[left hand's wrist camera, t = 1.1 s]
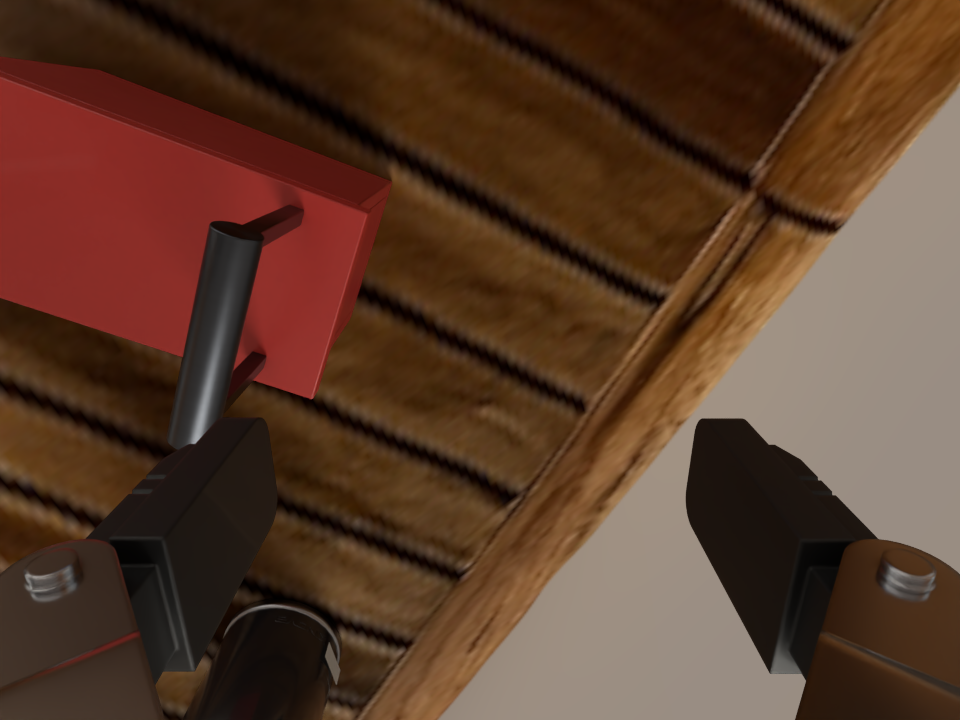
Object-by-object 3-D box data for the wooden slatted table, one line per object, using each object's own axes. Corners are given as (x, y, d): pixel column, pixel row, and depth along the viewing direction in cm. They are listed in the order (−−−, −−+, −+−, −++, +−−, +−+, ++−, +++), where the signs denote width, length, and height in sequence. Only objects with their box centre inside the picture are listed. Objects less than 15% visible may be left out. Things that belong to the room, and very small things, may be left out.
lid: (372, 209, 26) (325, 248, 18) (318, 390, 29) (258, 490, 21) (-64, 47, 23) (-337, 9, 15) (-70, 263, 26) (-299, 322, 19)
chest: (392, 181, 35) (358, 204, 26) (350, 318, 39) (306, 386, 29) (99, 69, 33) (-63, 47, 23) (80, 225, 36) (-69, 263, 26)
